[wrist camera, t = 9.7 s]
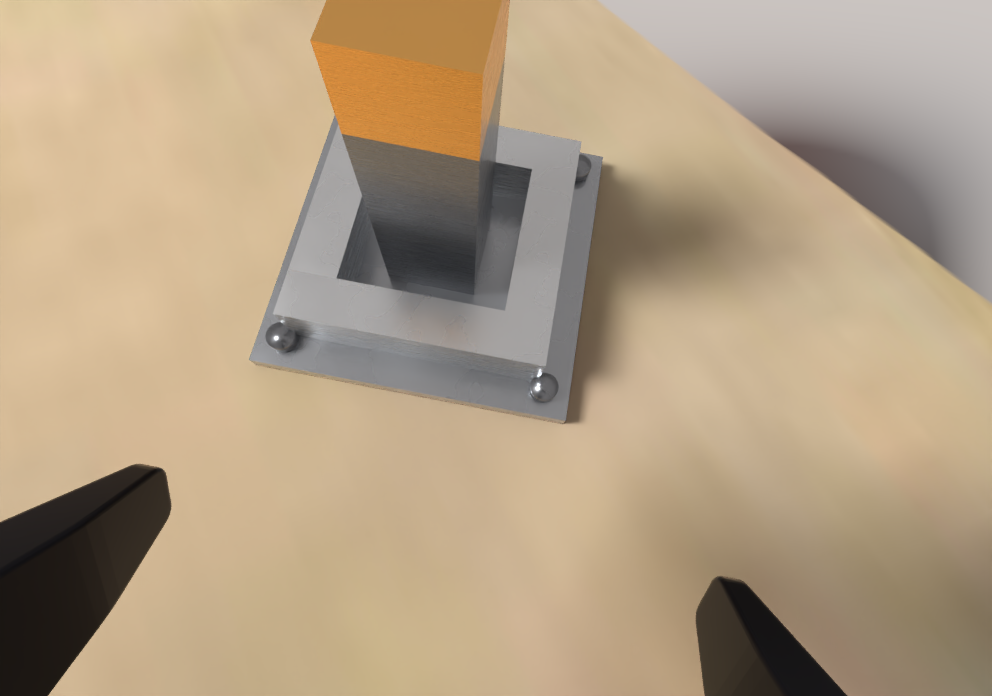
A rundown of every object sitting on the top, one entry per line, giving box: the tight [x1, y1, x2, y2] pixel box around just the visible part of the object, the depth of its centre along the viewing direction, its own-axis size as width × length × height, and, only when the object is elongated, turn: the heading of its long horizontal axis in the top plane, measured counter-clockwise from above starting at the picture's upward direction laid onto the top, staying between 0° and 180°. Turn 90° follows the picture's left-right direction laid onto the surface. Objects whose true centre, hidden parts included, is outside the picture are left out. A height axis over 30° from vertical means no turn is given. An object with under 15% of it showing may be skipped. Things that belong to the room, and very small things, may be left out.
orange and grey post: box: [310, 0, 510, 295], centre depth 18 cm, size 4×4×12 cm
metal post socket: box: [249, 116, 603, 424], centre depth 23 cm, size 14×14×3 cm
